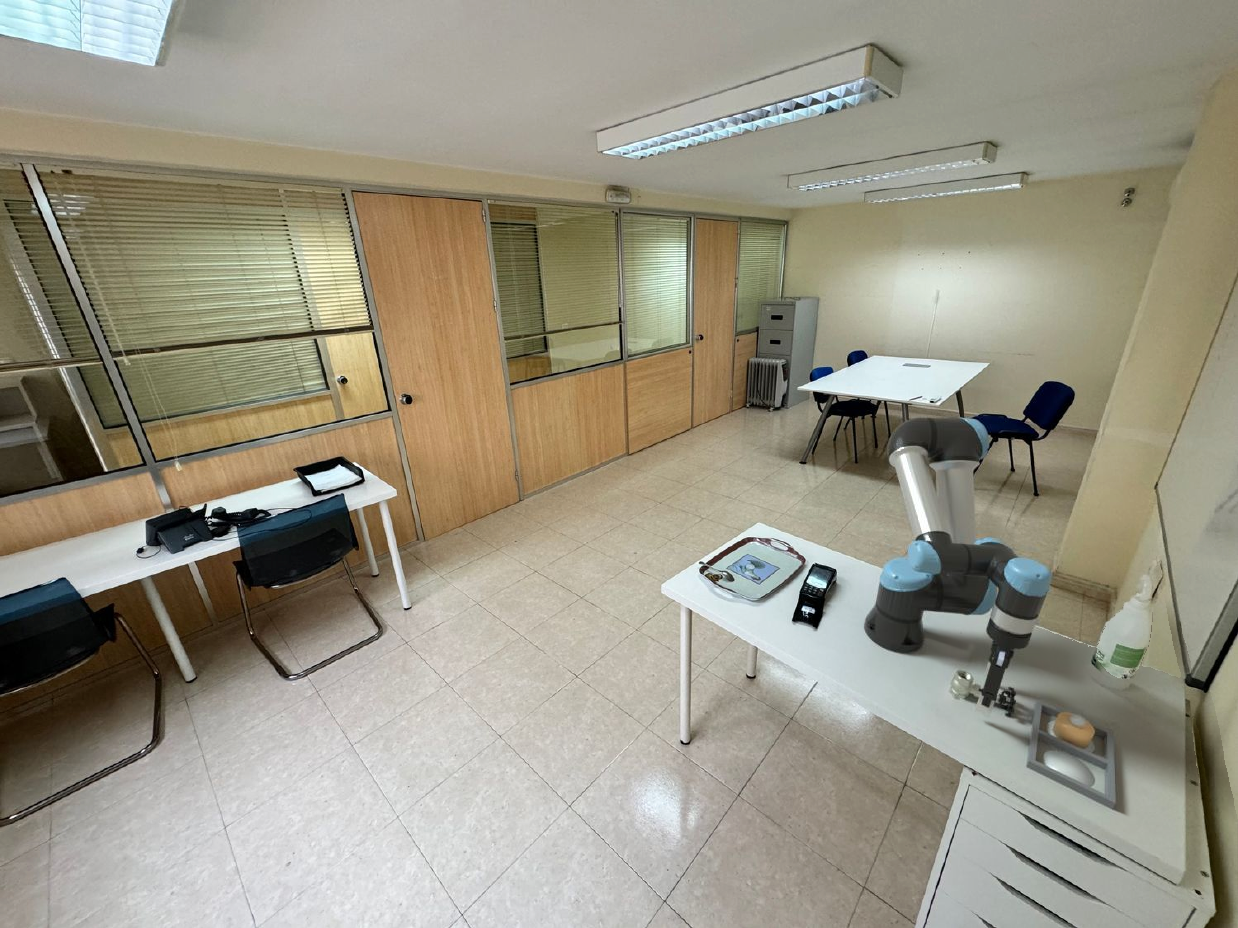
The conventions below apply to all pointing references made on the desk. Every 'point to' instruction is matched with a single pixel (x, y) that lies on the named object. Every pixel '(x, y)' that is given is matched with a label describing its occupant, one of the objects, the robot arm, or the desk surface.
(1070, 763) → the grey divided tray
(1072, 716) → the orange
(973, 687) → the valve
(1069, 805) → the desk surface
